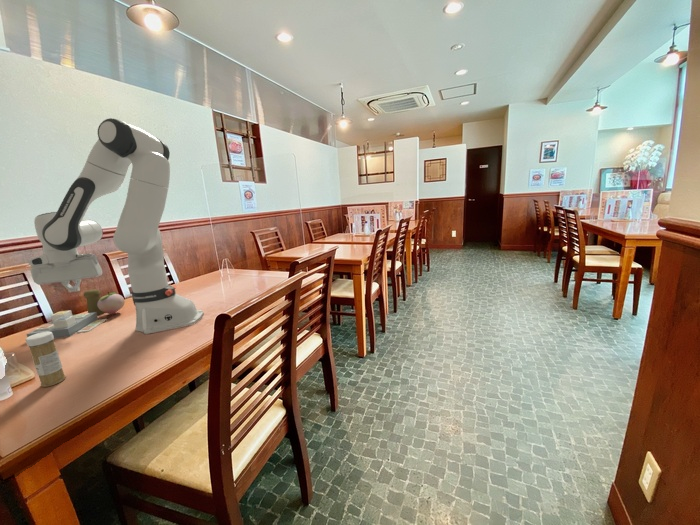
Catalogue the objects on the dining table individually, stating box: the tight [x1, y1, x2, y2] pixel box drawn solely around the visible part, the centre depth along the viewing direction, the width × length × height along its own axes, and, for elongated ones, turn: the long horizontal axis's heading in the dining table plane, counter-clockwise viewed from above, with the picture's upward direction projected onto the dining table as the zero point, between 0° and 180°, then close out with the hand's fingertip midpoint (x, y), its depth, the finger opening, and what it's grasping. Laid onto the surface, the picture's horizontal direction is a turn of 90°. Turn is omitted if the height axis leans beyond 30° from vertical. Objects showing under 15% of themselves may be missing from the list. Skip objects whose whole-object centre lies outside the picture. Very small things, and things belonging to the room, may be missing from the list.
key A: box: [50, 309, 74, 321], centre depth 107 cm, size 4×4×4 cm
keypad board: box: [26, 312, 99, 339], centre depth 105 cm, size 12×16×3 cm
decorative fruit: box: [97, 291, 125, 315], centre depth 118 cm, size 9×8×10 cm
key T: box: [34, 323, 54, 331], centre depth 100 cm, size 4×4×4 cm
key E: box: [74, 312, 90, 319], centre depth 109 cm, size 4×4×4 cm
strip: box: [76, 318, 108, 334], centre depth 107 cm, size 4×11×1 cm, turn 14°
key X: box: [53, 316, 76, 329], centre depth 101 cm, size 4×4×4 cm
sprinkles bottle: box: [25, 331, 67, 388], centre depth 70 cm, size 5×5×14 cm
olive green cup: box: [83, 288, 104, 317], centre depth 119 cm, size 6×6×11 cm
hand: (74, 291), depth 106 cm, fingers closed
